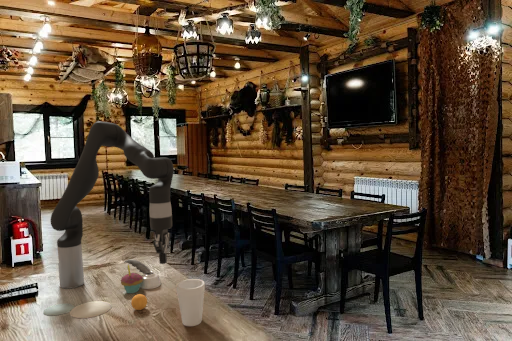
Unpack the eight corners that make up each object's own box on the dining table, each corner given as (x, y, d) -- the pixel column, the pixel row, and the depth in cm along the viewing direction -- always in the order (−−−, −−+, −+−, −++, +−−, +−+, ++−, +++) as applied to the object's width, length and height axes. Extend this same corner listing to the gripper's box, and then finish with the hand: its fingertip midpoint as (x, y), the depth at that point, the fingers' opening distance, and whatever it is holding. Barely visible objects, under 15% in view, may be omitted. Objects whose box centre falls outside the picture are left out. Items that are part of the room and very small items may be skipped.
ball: (128, 310, 149) (127, 295, 149) (140, 305, 154) (140, 290, 153) (138, 314, 146) (137, 298, 145) (150, 308, 150) (150, 293, 150)
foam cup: (182, 331, 132) (180, 291, 131) (174, 319, 141) (172, 282, 139) (210, 323, 137) (208, 285, 136) (200, 313, 145) (199, 277, 144)
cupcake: (136, 295, 163) (135, 265, 162) (117, 294, 164) (115, 264, 163) (146, 287, 171) (145, 258, 170) (127, 286, 173) (126, 258, 172)
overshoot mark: (38, 311, 151) (38, 311, 151) (64, 301, 159) (64, 301, 159) (52, 318, 145) (52, 317, 145) (79, 307, 153) (79, 307, 153)
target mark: (61, 312, 149) (61, 311, 149) (96, 298, 161) (96, 298, 161) (84, 321, 141) (84, 321, 141) (119, 306, 153) (119, 306, 153)
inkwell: (152, 290, 168) (150, 266, 167) (116, 285, 175) (115, 262, 174) (165, 282, 176) (164, 259, 175) (131, 278, 183) (129, 255, 182)
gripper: (166, 218, 139) (168, 269, 141) (176, 211, 152) (178, 257, 154) (144, 219, 139) (146, 269, 141) (155, 211, 153) (158, 257, 154)
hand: (163, 263), depth 147 cm, fingers closed
